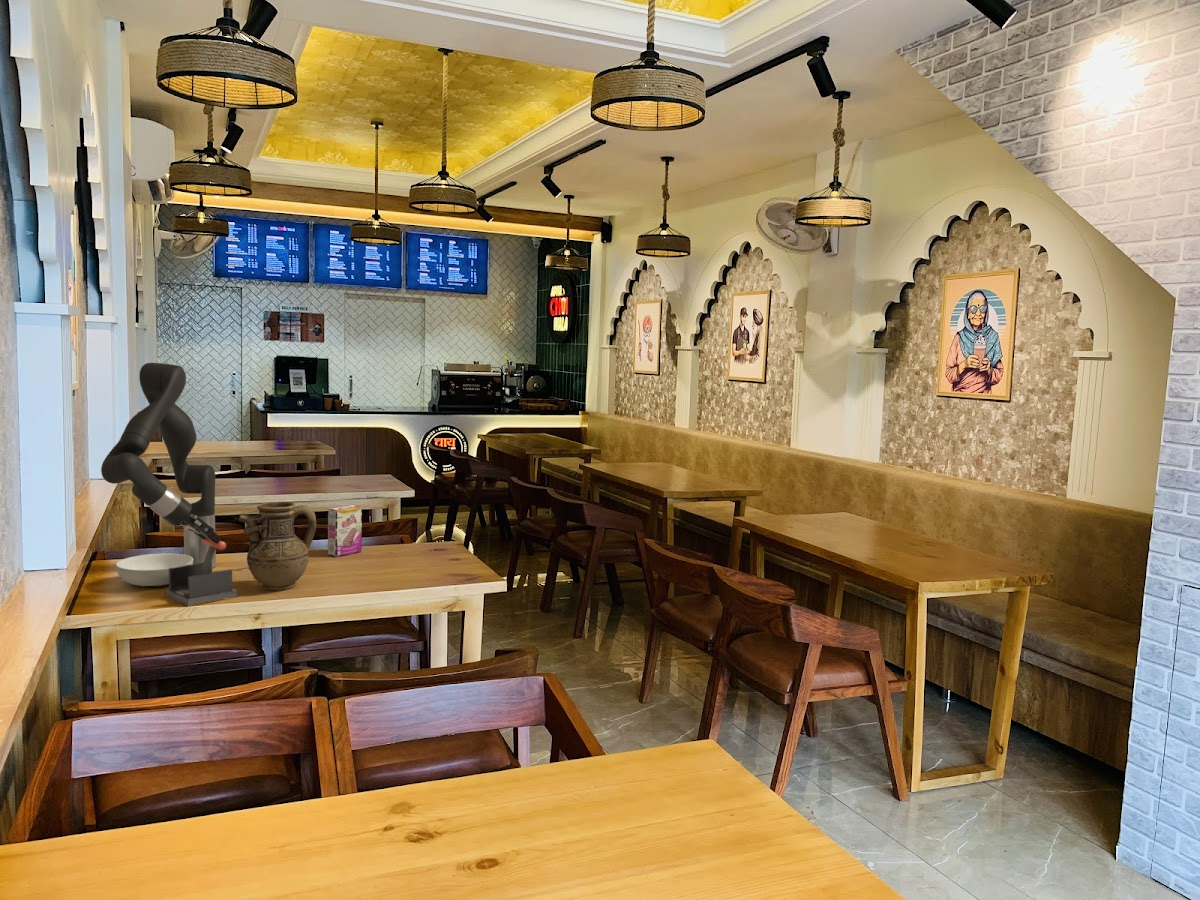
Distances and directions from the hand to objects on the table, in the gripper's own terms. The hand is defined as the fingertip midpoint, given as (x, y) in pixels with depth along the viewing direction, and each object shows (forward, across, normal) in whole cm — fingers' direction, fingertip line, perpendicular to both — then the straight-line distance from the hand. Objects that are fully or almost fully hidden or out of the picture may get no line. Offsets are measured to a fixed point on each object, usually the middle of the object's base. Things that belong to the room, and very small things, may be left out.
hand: (212, 538), depth 259 cm
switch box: (+8, 0, +14) cm, 17 cm away
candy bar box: (+51, +19, -26) cm, 60 cm away
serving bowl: (+6, +23, +17) cm, 29 cm away
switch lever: (+6, 0, +11) cm, 13 cm away
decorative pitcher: (+24, -6, 0) cm, 24 cm away
